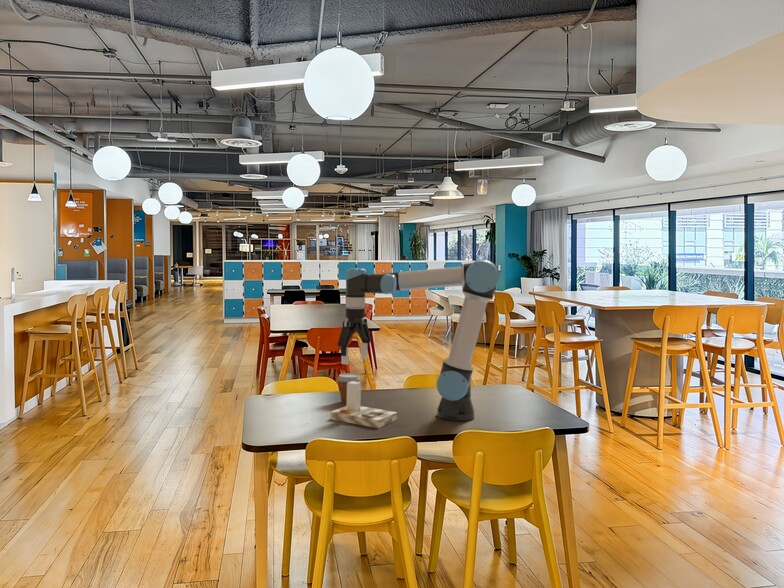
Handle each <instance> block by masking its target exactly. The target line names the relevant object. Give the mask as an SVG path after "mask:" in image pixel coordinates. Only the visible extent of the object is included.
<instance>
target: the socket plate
mask: <svg viewBox="0 0 784 588" xmlns="http://www.w3.org/2000/svg"><path fill="white" fill-rule="evenodd" d="M330 420H333V421H338V422H342V423H343V422H344V423H349V424H355V425H360V426H365V427H370V428H374V429H380V428H383V427H384V426H387V425H389V424H391V423H393V422H396V421H397V420H398V411H392V410H385V409H381V408H375V407H369V406H362V405H361V406H360V411H359V412H356V413H354V412H353V411H350V410H346V405H345V406H343V407H340V408H337V409H334V410H332V411H330Z"/></svg>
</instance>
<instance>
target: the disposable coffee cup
mask: <svg viewBox="0 0 784 588" xmlns="http://www.w3.org/2000/svg"><path fill="white" fill-rule="evenodd" d="M337 380H338V383H339V393H340V403H341V404H343V405H347V383H348V382H352V381H355V382H360V380H361V378H360V375H359V374H358V373H350V372H349V373H345V372H344V373H340V374H339V375H338V377H337Z"/></svg>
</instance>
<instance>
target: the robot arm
mask: <svg viewBox="0 0 784 588" xmlns="http://www.w3.org/2000/svg"><path fill="white" fill-rule="evenodd" d="M345 276H346V279H345V307H346V308H345V318H346V319H347V321H345V320H344V321H342V328H341V330H340V331H341V332H340V335H339V338H338V341H337V346H338V347H339V348H341V351H340V352H341V353H340V356H341V357H340V358H341V359H340V360H341V363H340V364H342V365H346V366H347V365H349V351H350V350H349V348H350V347H349V343H350V341H351V339H352V336H353V334H355V333H357V334H358V336H359V338H360V340H361V342H360V360H368V349H369V348H368V344H370V343H371V341H372V337H371V334H370V330H369V326H368V319H367V318H365V317H366V309H365V307H366V294H384V295H388V294H389V295H392V294H395V293H396V292H399V291H412V290H423V289H437V288H448V287H449V288H450V287H451V288H452V287H462V294H463V295H464V299H463V302H462V307H461V310H460V314H459V318H458V321H457V326H456V328H455V329H456V330H455V333H454V336H453V340H452V343H451V347H450V351H449V354H448V357H447V358H446V357H445V359H443V361H442V365H441V368H440V373H439V376H438V377H437V379H436V389H437V391H438V392H437V393H438V394H439V395H440V401H439V404H438V407H437V409H436V417H438V418H439V419H442V420H444V421H451V422H452V421H453V422H464V421H465V422H466V421H470V420H473V419H474V418H475V409H474V405H473V401H472V397H471V395H472V374H473V371H474V366H473V365H472V359H473V357H474V352H475V349H476V345H477V341H478V338H479V333H480V330H481V327H482V324H483V320H484V316H485V312H486V308H487V305H488V303H489V302H490V301H492V300H493V299H494V294H495V291H496V287H497V285H498V281H499V278H500V270H499V267H498V266H497V265H496V263H494V262H493V261H491V260H488V259H478V260H475V261H473V262H471V263H469V262H468V263H463V264H462V265H461V266H454V267H452V266H451V267H442V268H430V269H420V270H419V269H417V270H408V271H396V272H385V273H367V272H366V269H365V268H359V267H358V268H355V267H354V268H348V269H346V275H345Z"/></svg>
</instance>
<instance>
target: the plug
mask: <svg viewBox="0 0 784 588" xmlns="http://www.w3.org/2000/svg"><path fill="white" fill-rule="evenodd" d="M361 395H362V382H360V381H359V382H355V381H352V382H348V383H347V404H345V406H346V410H350V411H353V412H354V413H356V412H359V411H360V406H362V404H361V401H362V400H361V399H362V397H361Z"/></svg>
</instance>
